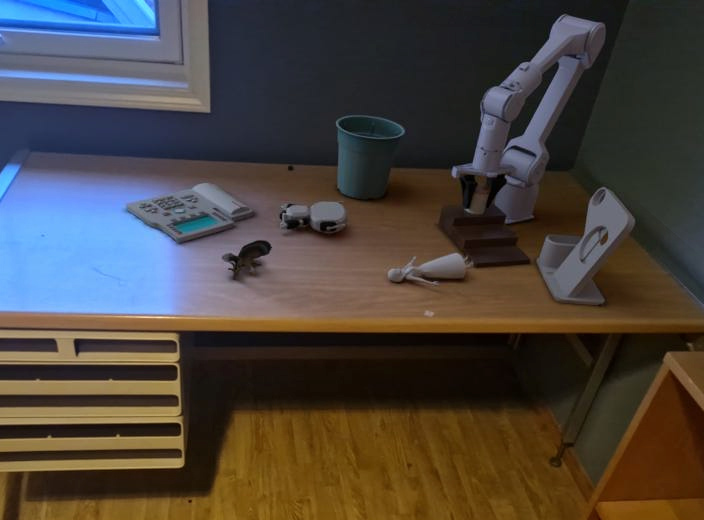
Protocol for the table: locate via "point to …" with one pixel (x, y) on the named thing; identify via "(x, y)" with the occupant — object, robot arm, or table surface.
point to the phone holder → (585, 251)
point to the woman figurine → (433, 269)
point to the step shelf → (482, 236)
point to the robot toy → (314, 216)
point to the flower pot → (366, 154)
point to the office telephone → (191, 212)
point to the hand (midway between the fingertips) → (475, 206)
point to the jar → (479, 199)
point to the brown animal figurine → (247, 256)
